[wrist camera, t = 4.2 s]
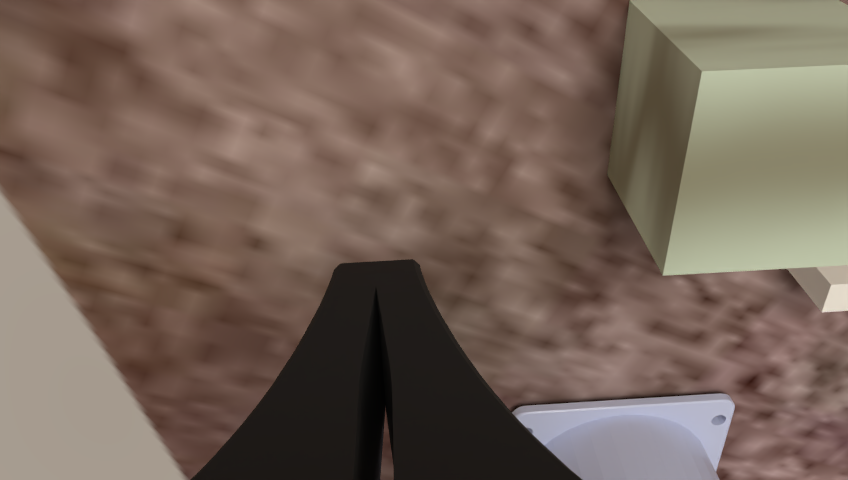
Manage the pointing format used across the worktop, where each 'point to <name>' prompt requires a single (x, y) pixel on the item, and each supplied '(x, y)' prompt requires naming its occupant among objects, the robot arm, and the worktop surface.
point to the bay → (824, 286)
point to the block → (734, 133)
